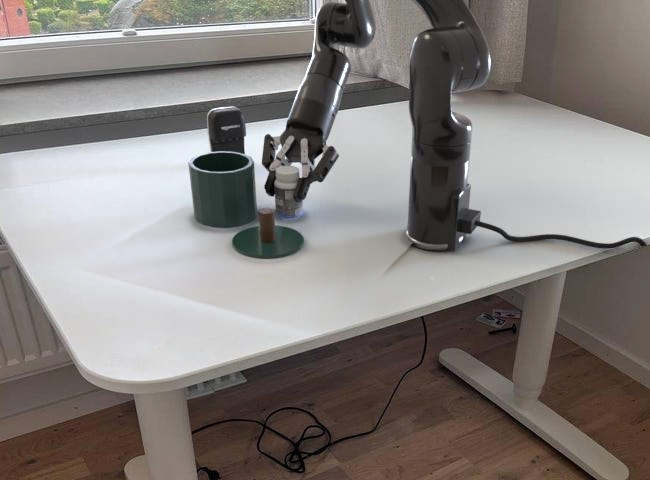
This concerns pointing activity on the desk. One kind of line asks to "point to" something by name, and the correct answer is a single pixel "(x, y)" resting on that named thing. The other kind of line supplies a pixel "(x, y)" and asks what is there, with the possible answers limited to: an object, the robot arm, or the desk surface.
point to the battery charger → (226, 129)
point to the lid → (267, 238)
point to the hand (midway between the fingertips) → (283, 197)
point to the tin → (223, 189)
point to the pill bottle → (287, 192)
